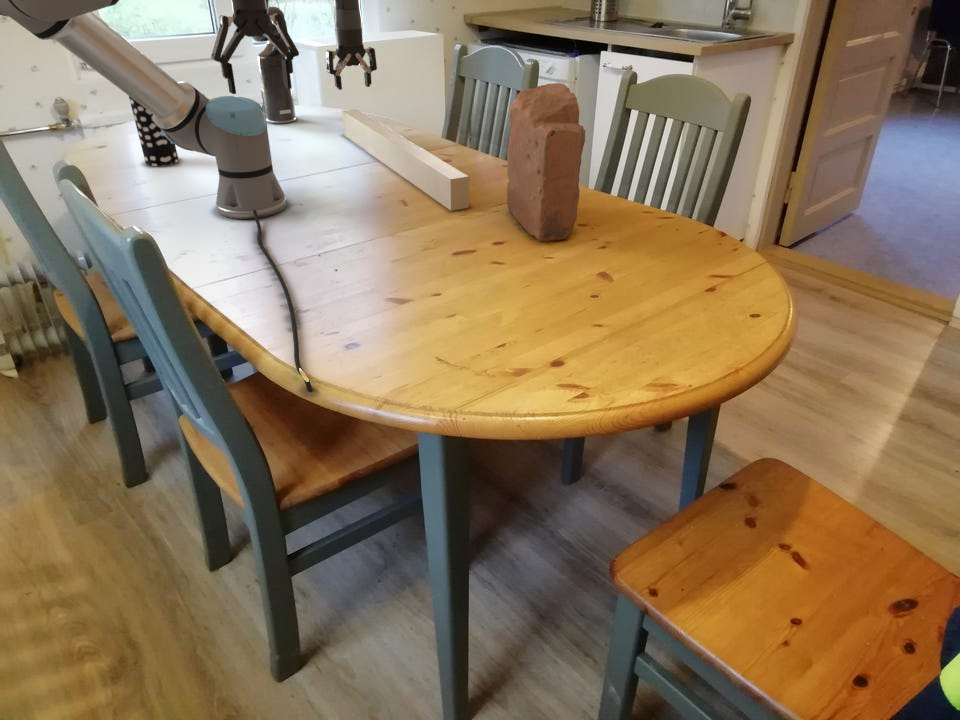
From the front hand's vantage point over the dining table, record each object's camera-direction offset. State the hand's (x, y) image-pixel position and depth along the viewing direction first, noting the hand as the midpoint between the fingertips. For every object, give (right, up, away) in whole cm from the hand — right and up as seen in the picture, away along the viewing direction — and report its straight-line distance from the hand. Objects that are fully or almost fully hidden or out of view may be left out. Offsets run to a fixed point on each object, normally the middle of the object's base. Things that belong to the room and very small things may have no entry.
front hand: (261, 90), depth 166 cm
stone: (+67, -35, -14) cm, 77 cm away
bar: (+31, -13, +20) cm, 39 cm away
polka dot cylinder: (-33, -3, +15) cm, 37 cm away
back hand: (+16, +14, +34) cm, 40 cm away
